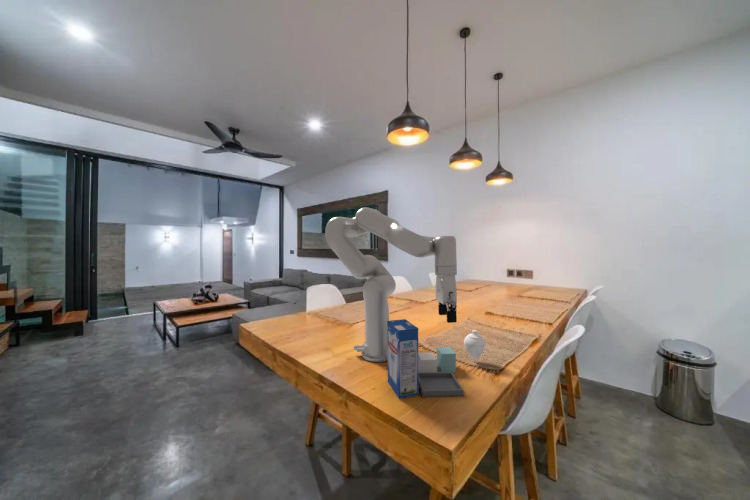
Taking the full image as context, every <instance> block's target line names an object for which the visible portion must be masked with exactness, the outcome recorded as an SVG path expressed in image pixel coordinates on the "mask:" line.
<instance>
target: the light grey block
mask: <svg viewBox="0 0 750 500" xmlns="http://www.w3.org/2000/svg"><path fill="white" fill-rule="evenodd" d="M418 370H419V373H429V372H441V371H440V369H439V367H438V366H437V356H436V355H435V354H434V352H418Z"/></svg>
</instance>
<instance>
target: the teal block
mask: <svg viewBox="0 0 750 500" xmlns="http://www.w3.org/2000/svg"><path fill="white" fill-rule="evenodd" d="M456 356H457V355H456V352H455V351H454V349H453V348H452V347H451V346H437V347H436V359H437V367H438V368H439V369H438V370H440V372H452V373H456V372H457V371H456V369H457V361H456V360H457V358H456Z"/></svg>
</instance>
